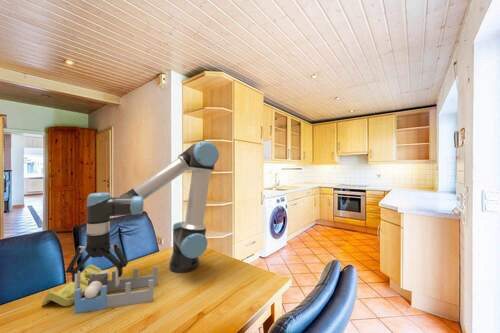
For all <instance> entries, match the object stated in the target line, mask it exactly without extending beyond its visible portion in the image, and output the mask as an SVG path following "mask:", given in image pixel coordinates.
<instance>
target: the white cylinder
mask: <svg viewBox="0 0 500 333" xmlns="http://www.w3.org/2000/svg"><path fill="white" fill-rule="evenodd" d="M110 275H111V273H110V272H109V270H107V269H105V270H102V271H101V272H100V273H99V274H95V275H93V276H92V277H91V278H90V279H89V280H88V287H87V288H86V289H85V291H84V295H83V296H84V298H93V297H95V296H98V294H99V293H100V294H101V286H102V285H107V282H108V280H110Z"/></svg>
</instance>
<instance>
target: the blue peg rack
mask: <svg viewBox="0 0 500 333" xmlns="http://www.w3.org/2000/svg"><path fill="white" fill-rule="evenodd" d="M158 267H159V266H158V265H156V266H153V268H152V269H153V270H152V271H153V273H152V274H150V275H142V276H139V267H135V268H133V269H132V273H133V274H132V276H131V277H124V278H123V277H122V278H120V283H119V285H118V286H117V287H115V277H116V269H115V270H112V271H111V279H108V282H107V285H102V286H101V292H100V295H96V296H95V297H93V298H86V297H83V296H82V288H78V289H76V290H75V303H74V308H73V310H74V314H79V313H85V312H86V313H87V312H93V311H99V310H106V309H109V308H116V307H123V306H129V305H136V304H137V305H138V304H144V303H151V302H153V301H154V286H158V275H159V274H158V273H159V272H158V271H159V270H158V269H159V268H158ZM93 275H95V273H91V274H90V278H91V277H92V276H93ZM146 287H148V289H141V290H135V291H132V289H137V288H138V289H139V288H146ZM123 290H125V291H124V292H121V293H120V292H119V293H118V292H117V293H112V294H111V293H110V294H108V292H115V291H123Z"/></svg>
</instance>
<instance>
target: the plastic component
mask: <svg viewBox="0 0 500 333" xmlns="http://www.w3.org/2000/svg"><path fill="white" fill-rule="evenodd" d="M101 271H103V270H102V269H101V268H100V267H97V266H96V265H93V264H88V265H87V266H86V267H85V268H84V269H83V270H82V271H81V277H80V288H82V297H83V296H85V295H84V291H85V289H86V288H87V287H88V280H89V279H90V274H91V273H95V274H99V273H100V272H101ZM51 302H55V303H56V304H58V305H61V306H63V307H69V306H72V305H75V282H72V281H70V282H69V283H67V284H66V285H65V286H63V287H62V288H61V289H59V290H58V291H57V292H55V291H49V292H48V293H47V294H46V295H45V297H44V299H43V300H42V302H41V305H42V306H43V305H44V306H46V305H48V304H49V303H51Z"/></svg>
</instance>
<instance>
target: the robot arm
mask: <svg viewBox="0 0 500 333" xmlns="http://www.w3.org/2000/svg"><path fill="white" fill-rule="evenodd" d="M219 157H220V153H219V149H218V148H217V146H216V145H215V144H214V143H212V142H211V141H207V140H202V141H199V142H197V143H193V144H192V145H191V146H189V147H188V148H187V149H185V150H184V151H183V152H181V154H179V155H178V156H177V158H176V159H175V160H174V161H172V162H170V163H169V164H168V165H166V166H164V167H163V168H161V169H160V170H158V171H157V172H155V173H154V174H152V175H150V176H149V177H148V178H146V179H144V180H143V181H141V182H140V183H138V184H137V185H135V186H134V187H132V188H131V189H130V190H128V191H126V192H124V193H122V194H120V196H118V197H117V196H116V197H112V196H111V193H109V192H94V193H89V194H88V195H87V199H86V246H83V245H79V246H78V247H77V248H76V249H75V254H74V256H73V257H72V259H71V261H70V263H69V265H68V266H67V268H66V270H65V273H66V274H71V282H75V290H76V289H78V288H80V277H81V273H82V271H81V270H80V269H81V268H82V267H83V266H84V265H85V263H87V261H88V260H89V259H90V258H93V259H96V258H103V257H104V258H105V259H107V260H108V261H109V262H111V264H113V266H115V268H116V269H115V270H116V277H115V287H117V286H118V285H119V283H120V279H121V277H122V275H123V271H124V270H123V269H124V268H126V267H127V265H128V264H129V262H128V260H127V259H126V257H125V255H124V253H123V252H122V250H121V248H120V243H119V242H116V243H113V244H111V237H110V236H111V217H120V216H134V215H140V214H143V212H144V201H145V200H146V199H147V198H149V197H150V196H152V195H154V194H155V193H157V191H159V190H160V189H162V188H163V187H165V186H166V185H167V184H169V183H170V182H172V181H173V180H174V179H176V178H178V177H179V176H181V175H182V174H183V173H185V172H187V171H188V172H190V171H191V178H190V184H189V190H188V191H189V193H188V201H187V208H186V214H185V221H180V222H179V221H178V222H176V223H174V224H173V226H172V254H171V257H170V260H169V263H168V264H169V265H168V268H169V271H171V272H173V273H187V272H191V271H194V270H196V269H197V268H198V267H200V258H199V257H200V256H202V255H203V254H204V253H205V252H206V251H207V248H208V240H207V237H206V235H207V234H206V233H207V226H206V225H205V217H206V216H205V215H206V209H207V199H208V193H209V184H210V178H211V174H213V172H214V170H215V165H216V163H217V162H218V160H219ZM110 250H113V251H114V253H115V254H116V256H115V255H114V254H113V253H112V251H110ZM83 252H86V253H87V254H86V256H84V258H83V259H81V261H80V262H79V264H77V265H76V263H78V260H79V258H80V257H81V255H82V253H83ZM75 266H76V267H75ZM74 267H75V268H74Z"/></svg>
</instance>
